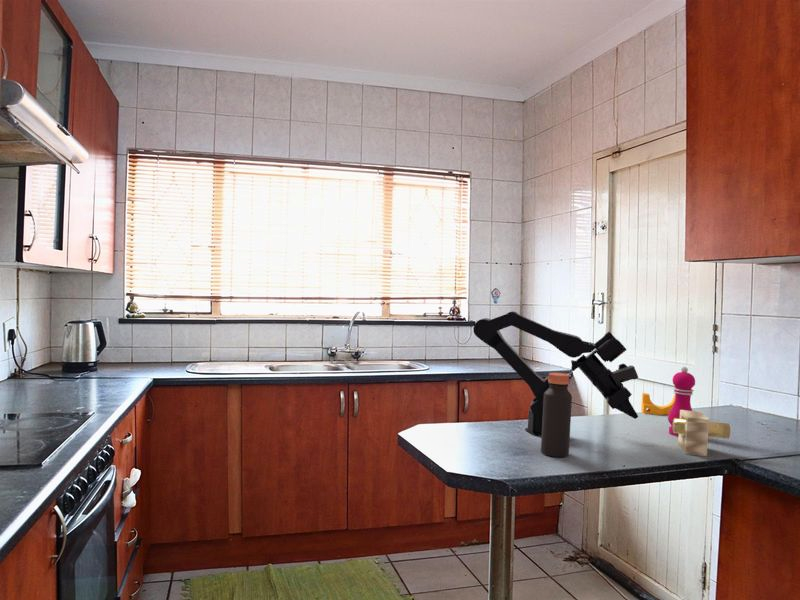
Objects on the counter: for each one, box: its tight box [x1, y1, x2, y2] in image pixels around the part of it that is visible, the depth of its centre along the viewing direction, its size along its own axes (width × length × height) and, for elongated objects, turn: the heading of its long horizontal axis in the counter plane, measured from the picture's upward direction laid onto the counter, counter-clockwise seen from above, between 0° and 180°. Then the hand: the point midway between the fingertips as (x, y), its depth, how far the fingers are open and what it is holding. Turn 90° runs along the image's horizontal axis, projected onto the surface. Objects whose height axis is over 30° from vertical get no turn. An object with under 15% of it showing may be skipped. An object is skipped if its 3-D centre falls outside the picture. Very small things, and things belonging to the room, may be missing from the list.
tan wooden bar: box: [673, 418, 731, 440], centre depth 152 cm, size 13×4×4 cm, turn 74°
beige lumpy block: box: [677, 410, 710, 457], centre depth 153 cm, size 5×10×10 cm, turn 164°
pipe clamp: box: [640, 392, 675, 416], centre depth 197 cm, size 12×4×6 cm, turn 76°
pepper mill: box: [667, 366, 696, 437], centre depth 169 cm, size 7×7×20 cm
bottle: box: [540, 372, 573, 458], centre depth 143 cm, size 7×7×20 cm
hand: (636, 417), depth 157 cm, fingers closed
